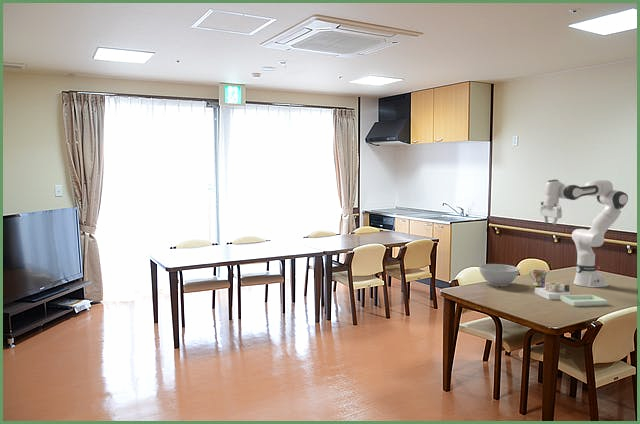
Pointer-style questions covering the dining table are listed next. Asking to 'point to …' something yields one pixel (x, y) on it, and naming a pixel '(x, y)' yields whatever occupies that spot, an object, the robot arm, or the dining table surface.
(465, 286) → the dining table surface
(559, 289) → the caddy
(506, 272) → the decorative bowl
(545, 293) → the stand
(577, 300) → the tray
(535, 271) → the mug
